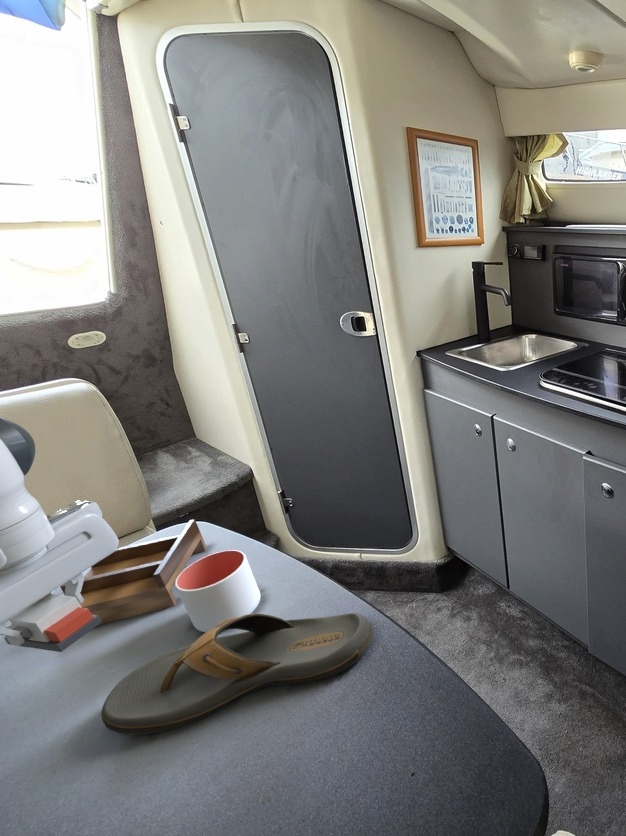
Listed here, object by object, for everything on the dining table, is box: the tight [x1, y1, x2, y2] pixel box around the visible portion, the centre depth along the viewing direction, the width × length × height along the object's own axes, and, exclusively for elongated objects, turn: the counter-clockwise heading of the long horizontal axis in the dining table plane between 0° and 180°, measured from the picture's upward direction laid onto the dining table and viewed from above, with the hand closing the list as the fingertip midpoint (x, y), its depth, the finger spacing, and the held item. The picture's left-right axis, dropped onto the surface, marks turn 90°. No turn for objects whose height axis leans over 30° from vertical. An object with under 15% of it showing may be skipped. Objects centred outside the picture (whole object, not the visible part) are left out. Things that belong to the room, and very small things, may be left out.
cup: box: [174, 549, 261, 633], centre depth 87 cm, size 10×10×10 cm
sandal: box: [100, 612, 374, 736], centre depth 75 cm, size 14×34×9 cm, turn 104°
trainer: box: [3, 592, 102, 653], centre depth 67 cm, size 9×5×6 cm, turn 80°
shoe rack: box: [59, 518, 208, 626], centre depth 94 cm, size 16×17×8 cm
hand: (49, 622), depth 67 cm, fingers closed on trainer, 4 cm apart
